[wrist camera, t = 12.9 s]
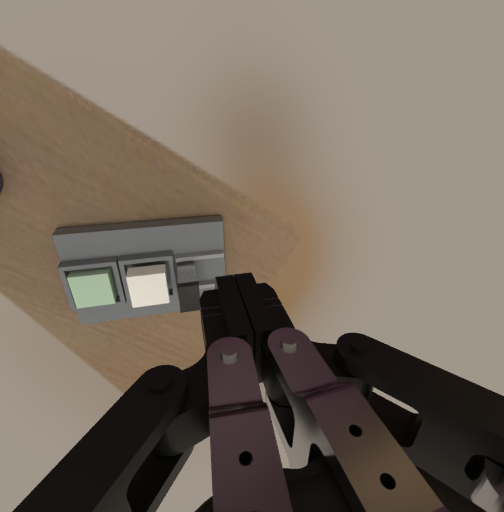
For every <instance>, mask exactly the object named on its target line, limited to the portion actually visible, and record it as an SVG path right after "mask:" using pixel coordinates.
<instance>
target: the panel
mask: <svg viewBox="0 0 504 512" xmlns="http://www.w3.org/2000/svg"><path fill="white" fill-rule="evenodd" d="M52 239H53V242H54V245H55V248H56V251H57V254H58V257H59V260H60V264H59V266H58V267H57V269H58V272H59V275H60V278H61V281H62V283H63V286H64V289H65V292H66V295H67V298H68V301H69V304H70V307H71V310H72V312H74V311H77V314H78V317H79V320H80V323H81V325H85V324H92V323H99V322H106V321H113V320H120V319H127V318H134V317H141V316H148V315H155V314H162V313H169V312H176V311H180V305H179V297H178V290H177V284H178V274H177V262H183V261H193V260H194V264H195V270H196V276H197V281H198V282H199V291H200V297H201V295H202V293H203V291H206V290H213V289H215V277H218V276H225V260H224V236H223V220H222V218H221V216H220V215H217V216H205V217H192V218H180V219H167V220H155V221H142V222H129V223H117V224H104V225H92V226H79V227H67V228H57V229H56V231H55V232H54V233H53V234H52ZM161 264H165V266H166V273H167V279H168V286H169V294H170V303H165V304H158V305H150V306H143V307H136V308H133V307H132V302H131V298H130V293H129V289H128V284H127V280H126V275H127V271H128V268H133V267H143V266H152V265H161ZM109 266H111V268H112V272H113V276H114V281H115V285H116V289H117V293H118V294H117V299H116V303H115V304H108V305H100V306H93V307H85V308H78V309H77V307H76V304H75V301H74V298H73V295H72V292H71V289H70V286H69V283H68V280H67V277H68V275H69V273H70V271H71V270H81V269H90V268H100V267H109Z"/></svg>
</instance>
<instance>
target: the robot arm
mask: <svg viewBox="0 0 504 512" xmlns="http://www.w3.org/2000/svg"><path fill="white" fill-rule="evenodd" d="M199 301H200V312H201V323H202V332H203V338H204V345H205V354H204V356H203V357H202V358H201V360H199V361H198V362H197V363H196V364H194V365H193V366H191V367H189V368H187V369H184V370H181V369H180V368H178V367H176V366H172V365H160V366H157V367H154V368H151V369H150V370H148V371H146V372H145V373H144V374H143V375H142V376H140V378H139V379H138V380H137V381H136V382H135V383H134V384H133V385H132V386H131V387H130V388H129V389H128V390H127V391H126V392H125V393H124V394H123V395H122V397H121V398H120V399H119V400H118V401H117V402H116V403H115V404H114V405H113V406H112V407H111V408H110V409H109V410H108V411H107V413H106V414H105V415H104V416H103V417H102V418H101V419H100V420H99V421H98V422H97V423H96V424H95V425H94V426H93V427H92V428H91V429H90V430H89V432H88V433H86V435H85V436H84V437H83V438H82V439H81V440H80V441H79V442H78V443H77V444H76V445H75V446H74V447H73V448H72V449H71V450H70V452H69V453H68V454H67V455H66V456H65V457H64V458H63V459H62V460H61V461H60V462H59V463H58V464H57V465H56V466H55V468H53V469H52V471H50V473H49V474H48V475H47V476H46V477H45V478H44V479H43V480H42V481H41V482H40V483H39V484H38V485H37V486H36V487H35V488H34V490H32V492H31V493H30V494H29V495H28V496H27V497H26V498H25V499H24V500H23V501H22V502H21V503H20V504H19V505H18V506H17V507H16V509H14V511H13V512H156V510H157V509H158V507H159V505H160V504H161V502H162V500H163V499H164V497H165V496H166V494H167V492H168V490H169V489H170V487H171V486H172V484H173V482H174V480H175V479H176V477H177V476H178V474H179V472H180V471H181V469H182V467H183V466H184V464H185V463H186V461H187V459H188V457H189V456H190V454H191V452H192V450H193V447H194V445H195V444H197V443H199V442H200V441H202V440H204V439H205V438H207V437H209V436H210V448H211V470H212V492H213V496H212V497H210V498H209V499H208V500H207V501H205V502H204V503H203V504H202V505H201V506H200V507H199V508H198V509H197V510H196V511H195V512H504V396H502V395H500V394H497V393H495V392H493V391H491V390H488V389H486V388H484V387H482V386H479V385H477V384H475V383H473V382H470V381H468V380H466V379H464V378H461V377H459V376H457V375H454V374H452V373H450V372H448V371H445V370H443V369H441V368H439V367H436V366H434V365H432V364H429V363H427V362H425V361H423V360H421V359H418V358H416V357H414V356H411V355H409V354H407V353H405V352H402V351H400V350H398V349H396V348H393V347H391V346H389V345H387V344H384V343H382V342H380V341H378V340H375V339H373V338H371V337H368V336H366V335H363V334H359V333H347V334H344V335H342V336H340V337H339V339H338V340H337V344H326V343H317V342H313V341H310V339H309V338H308V336H307V335H306V334H305V333H303V332H302V331H300V330H297V329H295V327H294V326H293V324H292V322H291V320H290V318H289V316H288V315H287V313H286V311H285V309H284V307H283V306H282V303H281V302H280V300H279V299H278V296H277V294H276V292H275V290H274V289H273V288H272V287H270V286H269V285H268V284H266V283H259V284H257V283H256V281H255V279H254V277H253V275H252V273H243V274H234V275H227V276H218V277H215V289H213V290H206V291H203V293H202V295H201V297H200V299H199ZM261 382H263V383H264V386H265V389H266V393H265V401H266V403H264V402H263V399H262V395H261V390H260V386H259V383H261ZM373 387H375V388H377V389H378V390H380V391H382V392H384V393H386V394H388V395H390V396H392V397H394V398H395V399H397V400H399V401H401V402H403V403H405V404H407V405H409V406H411V407H413V408H414V409H415V410H417V411H418V412H419V414H415V413H412V412H410V411H408V410H406V409H404V408H402V407H400V406H398V405H396V404H395V403H393V402H391V401H389V400H387V399H385V398H384V397H382V396H379V395H378V394H376V393H374V392H372V391H373ZM270 414H271V416H270ZM271 417H272V419H273V422H274V424H275V426H276V429H277V431H278V434H279V436H280V439H281V441H282V444H283V446H284V449H285V451H286V454H287V456H288V460H289V465H290V469H288V468H283V467H282V463H281V459H280V454H279V450H278V446H277V441H276V437H275V433H274V429H273V425H272V420H271Z"/></svg>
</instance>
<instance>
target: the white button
mask: <svg viewBox="0 0 504 512" xmlns="http://www.w3.org/2000/svg"><path fill="white" fill-rule="evenodd" d="M126 280H127V284H128V289H129V293H130V298H131V302H132V307H133V308H136V307H143V306H150V305H158V304H165V303H170V294H169V286H168V279H167V273H166V266H165V264H161V265H152V266H143V267H133V268H128V271H127V275H126Z"/></svg>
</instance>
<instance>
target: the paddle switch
mask: <svg viewBox="0 0 504 512" xmlns="http://www.w3.org/2000/svg"><path fill="white" fill-rule="evenodd" d="M177 274H178V284H177V290H178V297H179V305H180V313H182V312H189V311H196V310H200V301H199V299H200V291H199V282H198V281H197V276H196V270H195V264H194V260H193V261H183V262H177Z"/></svg>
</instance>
